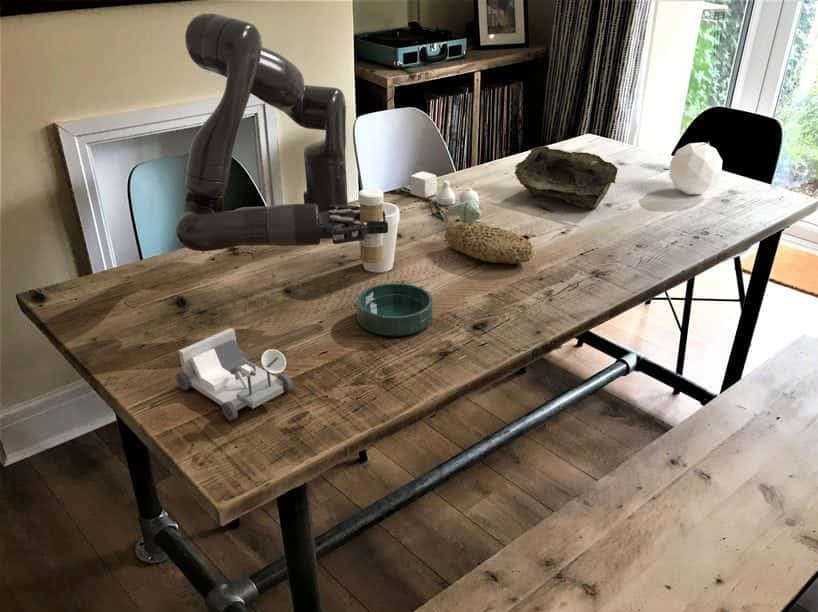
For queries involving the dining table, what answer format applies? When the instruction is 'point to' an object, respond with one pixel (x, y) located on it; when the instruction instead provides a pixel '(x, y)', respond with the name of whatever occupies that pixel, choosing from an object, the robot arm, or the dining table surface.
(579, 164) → the hollow geode rock
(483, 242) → the sponge
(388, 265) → the foam cup
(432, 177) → the container set
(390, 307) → the bowl
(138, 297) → the dining table surface
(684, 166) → the geodesic sphere
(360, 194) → the sprinkles bottle
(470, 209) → the mint green faceted piece
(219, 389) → the toy car
